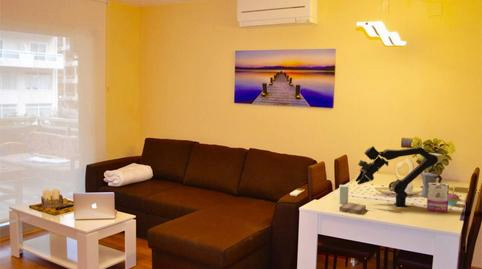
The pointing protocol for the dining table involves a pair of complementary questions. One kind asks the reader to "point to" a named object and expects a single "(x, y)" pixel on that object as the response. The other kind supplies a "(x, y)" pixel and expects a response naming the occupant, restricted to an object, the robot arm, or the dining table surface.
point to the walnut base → (352, 208)
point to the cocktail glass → (439, 155)
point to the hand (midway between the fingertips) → (356, 182)
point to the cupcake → (452, 198)
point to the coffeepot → (428, 178)
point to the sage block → (343, 194)
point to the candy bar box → (437, 197)
